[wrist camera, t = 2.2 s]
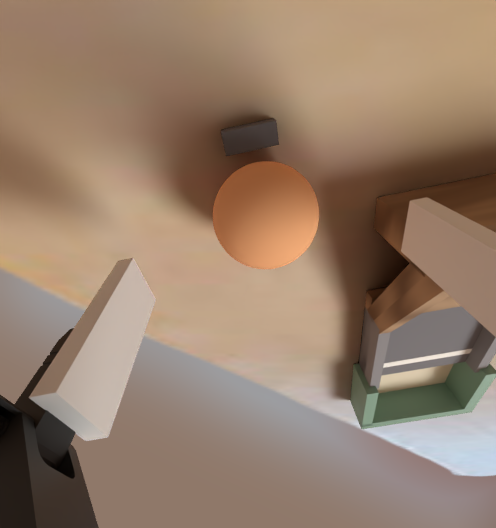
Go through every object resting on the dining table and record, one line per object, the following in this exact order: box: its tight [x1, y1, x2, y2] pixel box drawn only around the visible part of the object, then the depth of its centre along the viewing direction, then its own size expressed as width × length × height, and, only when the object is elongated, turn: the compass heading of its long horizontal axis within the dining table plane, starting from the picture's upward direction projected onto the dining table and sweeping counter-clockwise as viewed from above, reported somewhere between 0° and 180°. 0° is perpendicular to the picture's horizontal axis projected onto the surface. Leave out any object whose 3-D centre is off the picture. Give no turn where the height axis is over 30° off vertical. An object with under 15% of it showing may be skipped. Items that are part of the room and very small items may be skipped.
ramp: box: [365, 173, 496, 334], centre depth 17 cm, size 12×12×8 cm
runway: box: [359, 306, 496, 389], centre depth 25 cm, size 10×12×3 cm
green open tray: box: [350, 362, 496, 429], centre depth 30 cm, size 9×13×4 cm, turn 101°
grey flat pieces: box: [221, 118, 279, 156], centre depth 17 cm, size 9×3×1 cm, turn 11°
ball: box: [213, 161, 319, 269], centre depth 15 cm, size 6×6×6 cm
